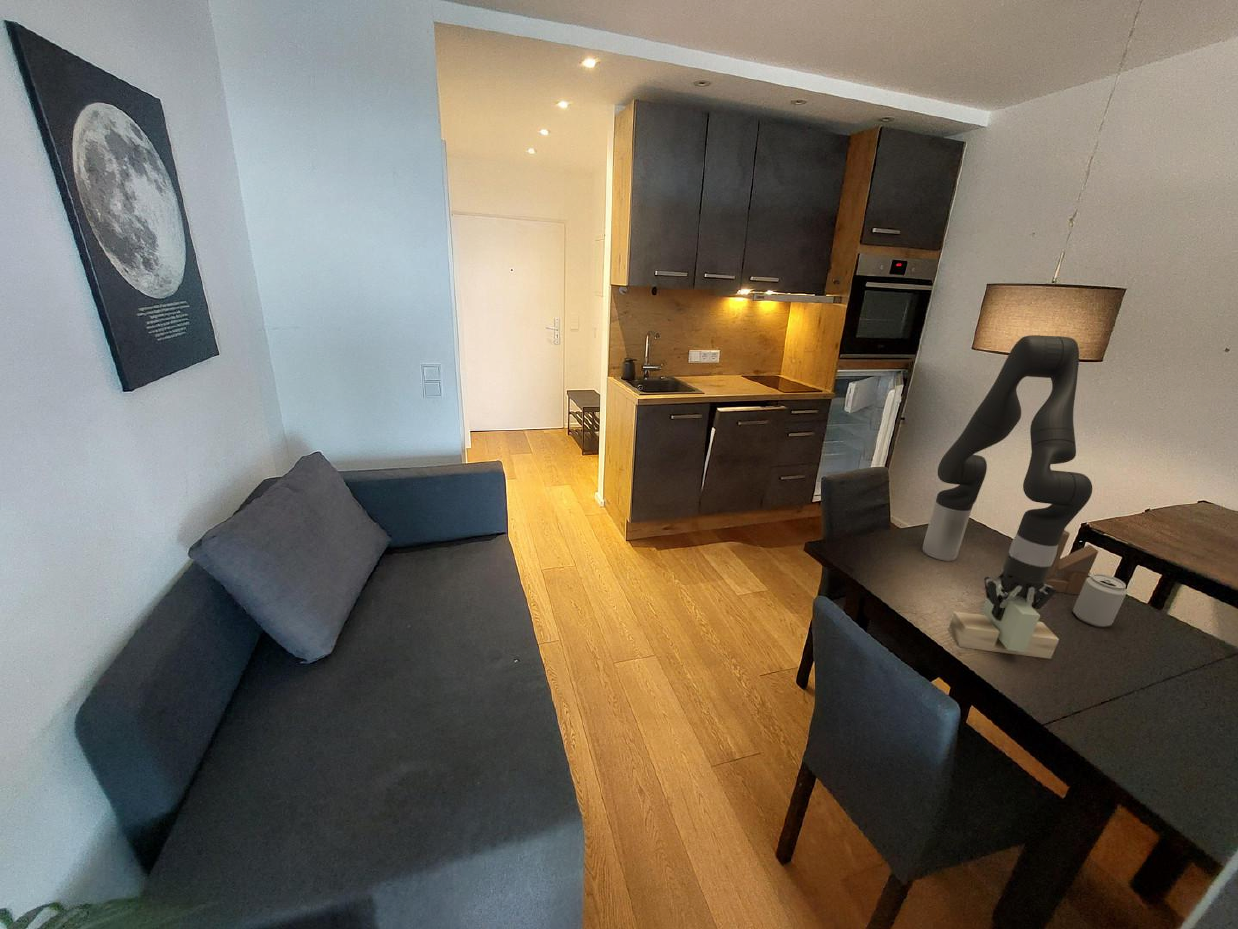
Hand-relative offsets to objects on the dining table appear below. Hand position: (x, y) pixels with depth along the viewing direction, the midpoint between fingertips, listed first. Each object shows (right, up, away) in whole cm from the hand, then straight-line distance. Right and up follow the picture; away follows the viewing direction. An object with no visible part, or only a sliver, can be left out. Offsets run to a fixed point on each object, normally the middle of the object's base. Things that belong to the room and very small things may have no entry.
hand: (1006, 619), depth 111 cm
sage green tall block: (0, -4, +1) cm, 4 cm away
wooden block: (+32, +1, +24) cm, 40 cm away
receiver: (0, -7, +2) cm, 7 cm away
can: (+31, -4, +12) cm, 33 cm away
